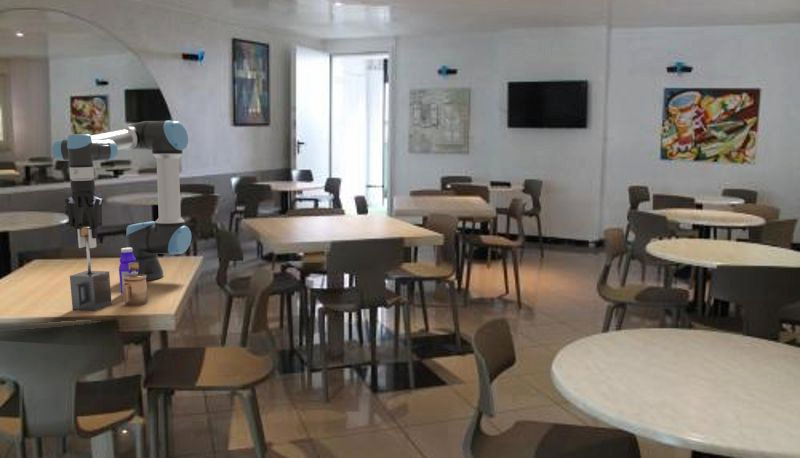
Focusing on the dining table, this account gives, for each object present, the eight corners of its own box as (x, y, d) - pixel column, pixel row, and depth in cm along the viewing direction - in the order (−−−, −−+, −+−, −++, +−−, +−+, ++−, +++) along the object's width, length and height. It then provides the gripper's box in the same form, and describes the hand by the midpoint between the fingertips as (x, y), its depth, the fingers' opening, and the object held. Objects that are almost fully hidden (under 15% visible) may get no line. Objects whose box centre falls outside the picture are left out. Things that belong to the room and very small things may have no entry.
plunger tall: (88, 279, 250) (83, 225, 247) (105, 279, 248) (101, 226, 245) (75, 283, 243) (70, 228, 240) (92, 284, 242) (88, 229, 239)
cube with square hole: (89, 303, 252) (86, 270, 250) (111, 304, 250) (109, 271, 248) (66, 312, 240) (63, 277, 239) (89, 313, 239) (87, 278, 237)
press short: (132, 299, 257) (130, 260, 255) (152, 300, 255) (149, 261, 253) (115, 307, 246) (112, 266, 244) (135, 308, 245) (132, 266, 243)
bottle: (131, 296, 263) (128, 250, 260) (117, 295, 264) (114, 249, 261) (142, 291, 270) (139, 246, 267) (128, 291, 271) (125, 246, 268)
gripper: (53, 180, 239) (59, 248, 242) (96, 180, 235) (102, 249, 238) (68, 178, 246) (73, 245, 249) (110, 178, 242) (115, 246, 246)
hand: (87, 247), depth 244 cm, fingers closed on plunger tall, 3 cm apart
